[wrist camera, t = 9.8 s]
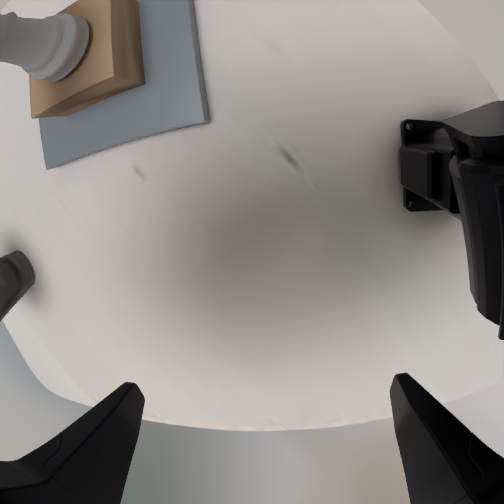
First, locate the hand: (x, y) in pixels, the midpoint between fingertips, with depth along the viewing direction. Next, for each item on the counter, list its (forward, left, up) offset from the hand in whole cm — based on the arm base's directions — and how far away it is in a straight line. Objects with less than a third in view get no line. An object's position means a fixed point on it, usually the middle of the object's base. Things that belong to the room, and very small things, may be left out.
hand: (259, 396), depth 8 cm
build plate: (+10, -16, -13) cm, 23 cm away
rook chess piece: (+10, -16, -8) cm, 20 cm away
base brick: (+10, -16, -12) cm, 22 cm away
